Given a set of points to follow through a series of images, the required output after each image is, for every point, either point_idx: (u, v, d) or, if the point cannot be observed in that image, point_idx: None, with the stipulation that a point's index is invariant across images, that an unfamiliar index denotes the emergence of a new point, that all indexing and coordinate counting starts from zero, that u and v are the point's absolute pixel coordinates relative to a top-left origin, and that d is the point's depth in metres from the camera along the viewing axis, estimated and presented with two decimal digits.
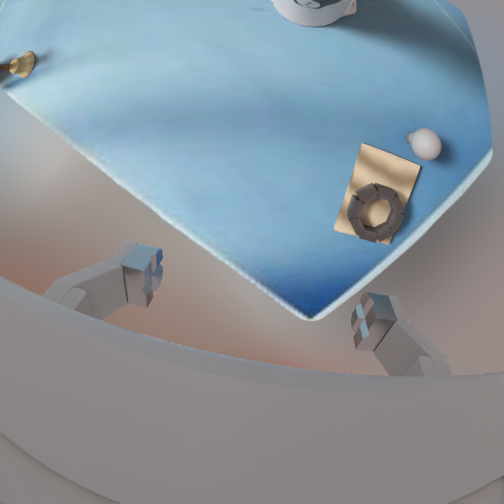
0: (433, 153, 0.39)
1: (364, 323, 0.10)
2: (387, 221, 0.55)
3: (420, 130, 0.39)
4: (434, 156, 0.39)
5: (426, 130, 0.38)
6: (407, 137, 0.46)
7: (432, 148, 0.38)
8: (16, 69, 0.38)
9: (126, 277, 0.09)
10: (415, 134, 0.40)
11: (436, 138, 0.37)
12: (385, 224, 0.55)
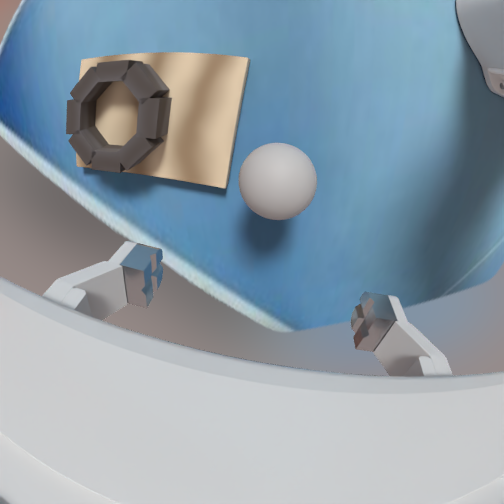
0: (259, 196, 0.19)
1: (364, 323, 0.10)
2: (106, 146, 0.26)
3: (309, 160, 0.20)
4: (252, 201, 0.20)
5: (313, 175, 0.20)
6: None
7: (272, 191, 0.19)
8: None
9: (126, 277, 0.09)
10: (296, 148, 0.20)
11: (300, 201, 0.19)
12: (101, 143, 0.26)
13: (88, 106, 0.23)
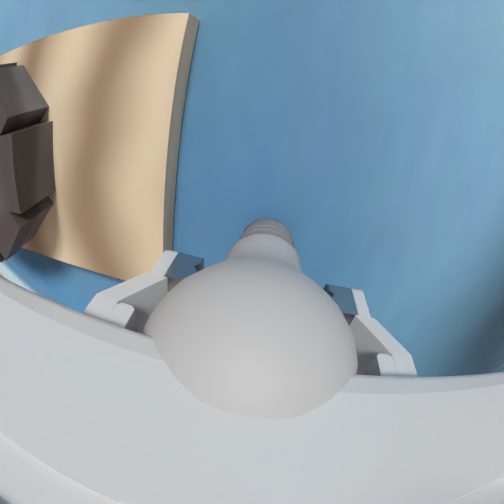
0: None
1: None
2: None
3: (345, 338, 0.06)
4: None
5: None
6: (264, 225, 0.12)
7: None
8: None
9: (170, 289, 0.09)
10: (307, 301, 0.06)
11: None
12: None
13: None
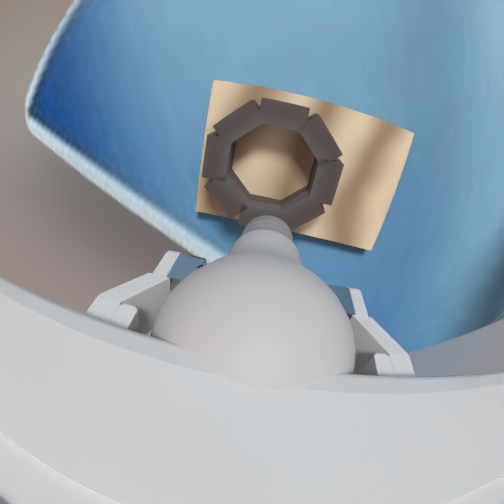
0: None
1: None
2: (251, 196, 0.27)
3: (343, 324, 0.06)
4: None
5: (351, 369, 0.06)
6: (265, 221, 0.13)
7: None
8: None
9: None
10: (308, 291, 0.06)
11: None
12: (245, 193, 0.27)
13: (233, 146, 0.24)
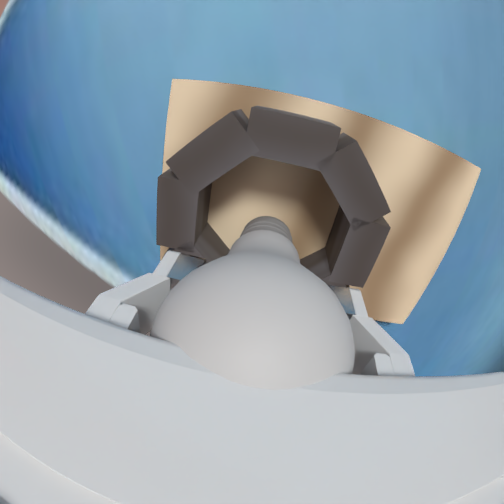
0: None
1: None
2: None
3: (343, 323, 0.06)
4: None
5: (350, 368, 0.06)
6: (264, 222, 0.13)
7: None
8: None
9: None
10: (307, 289, 0.06)
11: None
12: None
13: (205, 192, 0.15)
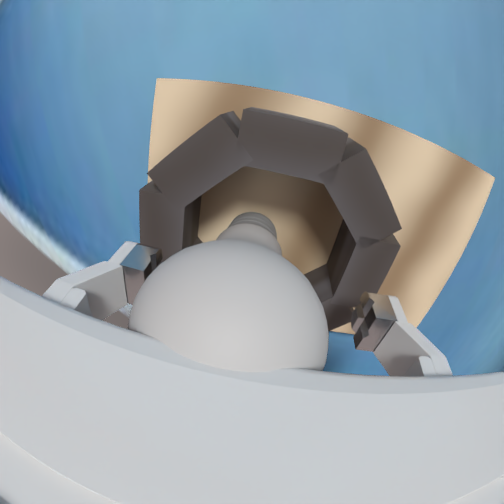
0: None
1: (364, 323, 0.10)
2: None
3: (312, 306, 0.07)
4: None
5: (321, 351, 0.07)
6: (248, 217, 0.13)
7: None
8: None
9: (126, 277, 0.09)
10: (275, 270, 0.07)
11: None
12: None
13: (193, 205, 0.13)
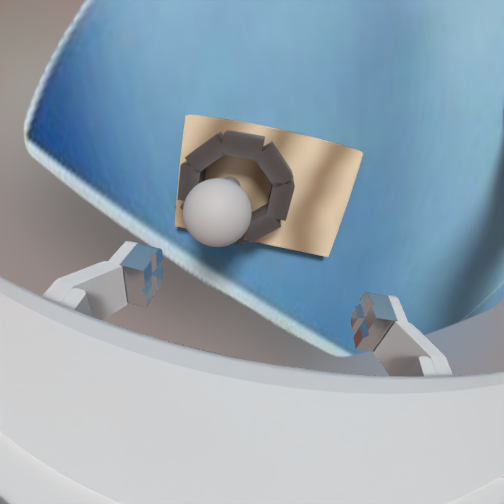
0: (196, 229, 0.22)
1: (364, 323, 0.10)
2: None
3: (242, 194, 0.23)
4: (192, 233, 0.23)
5: (245, 207, 0.23)
6: (227, 178, 0.29)
7: (205, 225, 0.22)
8: None
9: (126, 277, 0.09)
10: (231, 183, 0.23)
11: (233, 232, 0.23)
12: None
13: (202, 173, 0.29)
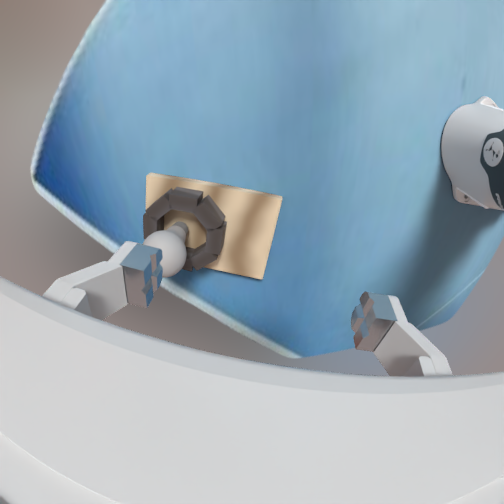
0: None
1: (364, 323, 0.10)
2: None
3: (177, 243, 0.33)
4: None
5: (178, 252, 0.33)
6: (177, 223, 0.40)
7: None
8: None
9: (126, 277, 0.09)
10: (169, 236, 0.33)
11: (170, 269, 0.33)
12: None
13: (160, 219, 0.40)
